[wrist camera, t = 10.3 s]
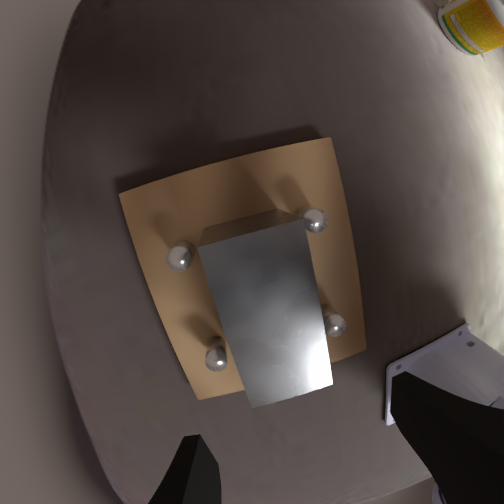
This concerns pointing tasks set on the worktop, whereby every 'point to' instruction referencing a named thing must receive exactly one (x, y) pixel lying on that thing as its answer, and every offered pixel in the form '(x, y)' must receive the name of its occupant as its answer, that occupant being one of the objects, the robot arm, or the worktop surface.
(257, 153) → the pin tray
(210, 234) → the plate
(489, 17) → the supplement bottle
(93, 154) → the worktop surface
